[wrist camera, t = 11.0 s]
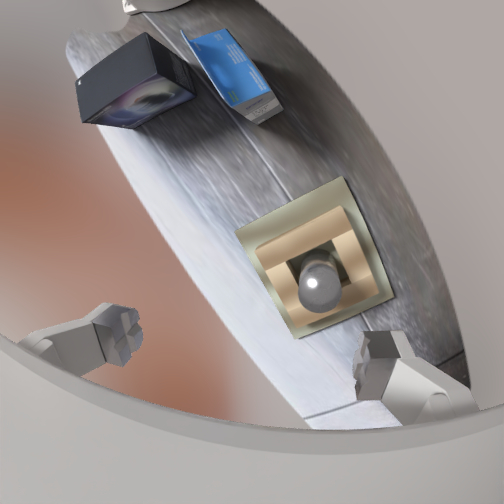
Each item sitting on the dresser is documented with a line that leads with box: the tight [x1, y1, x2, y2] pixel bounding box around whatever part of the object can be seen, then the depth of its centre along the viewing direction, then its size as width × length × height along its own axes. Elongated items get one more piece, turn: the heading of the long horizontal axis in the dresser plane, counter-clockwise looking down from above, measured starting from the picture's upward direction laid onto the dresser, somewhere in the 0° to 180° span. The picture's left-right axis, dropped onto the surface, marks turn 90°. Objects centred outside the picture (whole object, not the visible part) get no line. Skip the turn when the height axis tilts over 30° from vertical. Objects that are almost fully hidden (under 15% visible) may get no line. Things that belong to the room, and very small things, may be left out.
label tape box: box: [181, 29, 283, 125], centre depth 23 cm, size 9×4×12 cm, turn 29°
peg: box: [298, 249, 342, 313], centre depth 28 cm, size 4×4×8 cm
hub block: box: [235, 176, 394, 339], centre depth 31 cm, size 16×14×3 cm
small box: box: [75, 32, 197, 129], centre depth 26 cm, size 11×6×10 cm, turn 108°
